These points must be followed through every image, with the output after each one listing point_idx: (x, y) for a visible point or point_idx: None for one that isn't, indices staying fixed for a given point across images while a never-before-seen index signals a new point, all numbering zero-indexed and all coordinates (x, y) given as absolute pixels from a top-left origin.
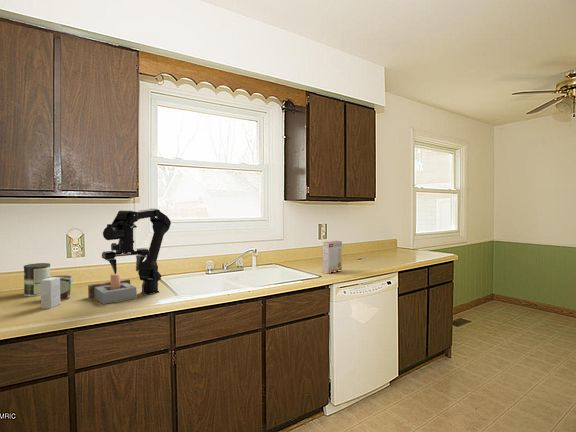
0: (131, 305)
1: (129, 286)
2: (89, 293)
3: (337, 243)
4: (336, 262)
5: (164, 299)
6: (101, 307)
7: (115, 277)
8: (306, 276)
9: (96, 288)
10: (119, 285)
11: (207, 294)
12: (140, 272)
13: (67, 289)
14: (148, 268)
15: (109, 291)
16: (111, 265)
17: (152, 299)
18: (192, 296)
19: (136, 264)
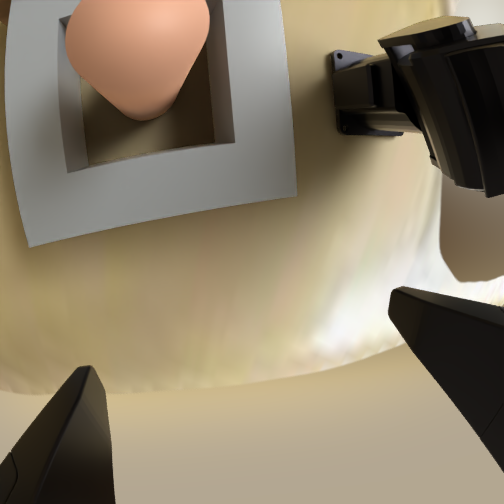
0: (203, 326)
1: (261, 112)
2: (1, 20)
3: None
4: None
5: (363, 290)
6: (52, 286)
7: (121, 97)
8: None
9: (6, 47)
10: (174, 94)
11: (466, 289)
12: (432, 86)
13: None
14: (501, 179)
15: (72, 219)
16: (6, 480)
17: (326, 262)
18: (438, 293)
19: (467, 331)
